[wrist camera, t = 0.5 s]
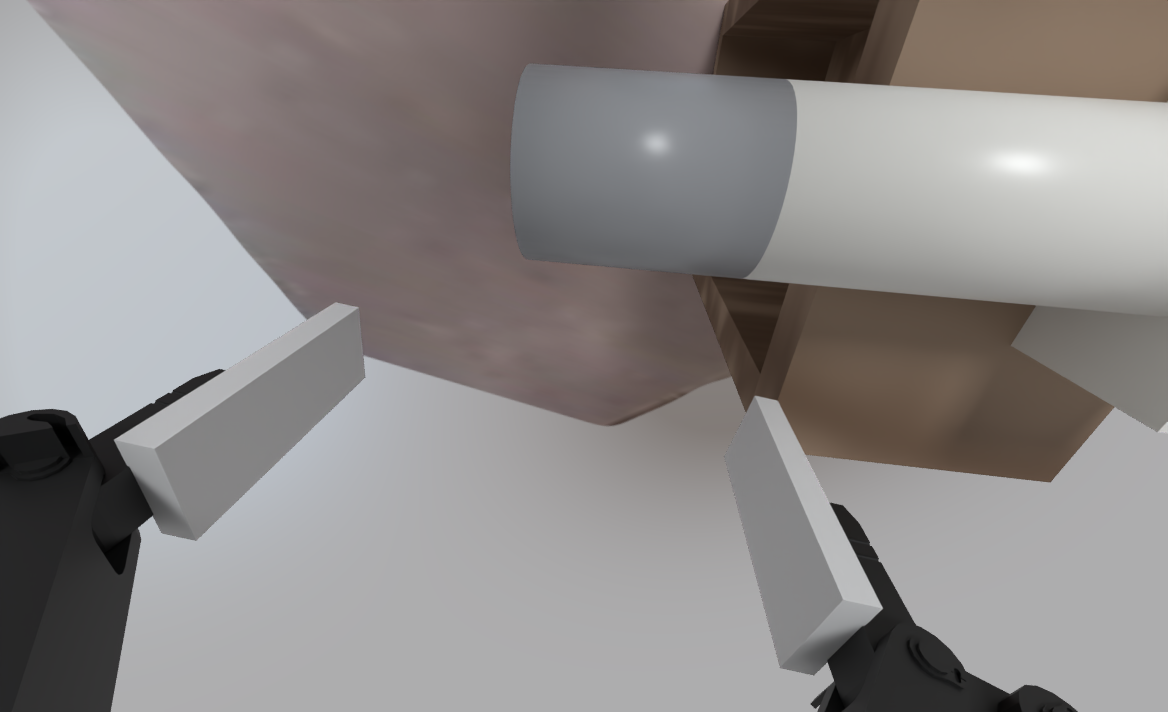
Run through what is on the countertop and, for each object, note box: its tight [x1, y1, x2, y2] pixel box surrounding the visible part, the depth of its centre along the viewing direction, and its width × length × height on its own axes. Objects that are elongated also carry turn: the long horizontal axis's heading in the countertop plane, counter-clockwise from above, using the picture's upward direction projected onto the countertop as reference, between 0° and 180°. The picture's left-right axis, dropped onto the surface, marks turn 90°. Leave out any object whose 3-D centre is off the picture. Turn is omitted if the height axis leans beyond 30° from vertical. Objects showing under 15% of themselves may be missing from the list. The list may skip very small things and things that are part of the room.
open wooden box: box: [692, 0, 1168, 482], centre depth 23 cm, size 18×10×28 cm, turn 176°
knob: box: [510, 63, 1168, 433], centre depth 9 cm, size 18×8×4 cm, turn 86°
